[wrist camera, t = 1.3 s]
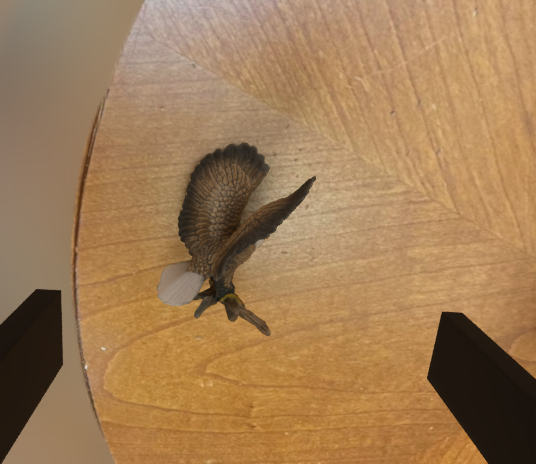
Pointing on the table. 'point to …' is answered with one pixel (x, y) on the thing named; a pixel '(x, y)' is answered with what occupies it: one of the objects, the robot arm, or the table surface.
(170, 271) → the eagle figurine
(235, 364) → the table surface
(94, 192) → the table surface
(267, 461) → the table surface
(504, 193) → the table surface
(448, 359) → the robot arm
